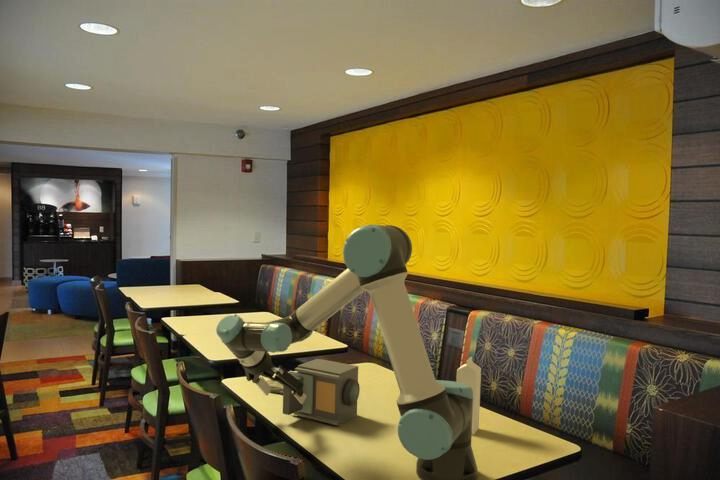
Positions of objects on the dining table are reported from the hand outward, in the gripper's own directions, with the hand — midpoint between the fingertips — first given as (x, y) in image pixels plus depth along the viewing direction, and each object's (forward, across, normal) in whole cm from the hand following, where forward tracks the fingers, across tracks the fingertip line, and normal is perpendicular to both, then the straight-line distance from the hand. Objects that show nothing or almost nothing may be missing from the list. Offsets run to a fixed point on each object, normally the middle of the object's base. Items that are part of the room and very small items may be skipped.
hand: (285, 395), depth 169 cm
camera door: (+7, 0, -2) cm, 7 cm away
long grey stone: (+25, -12, +13) cm, 31 cm away
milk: (+26, +48, +14) cm, 56 cm away
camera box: (+15, +7, +3) cm, 17 cm away
